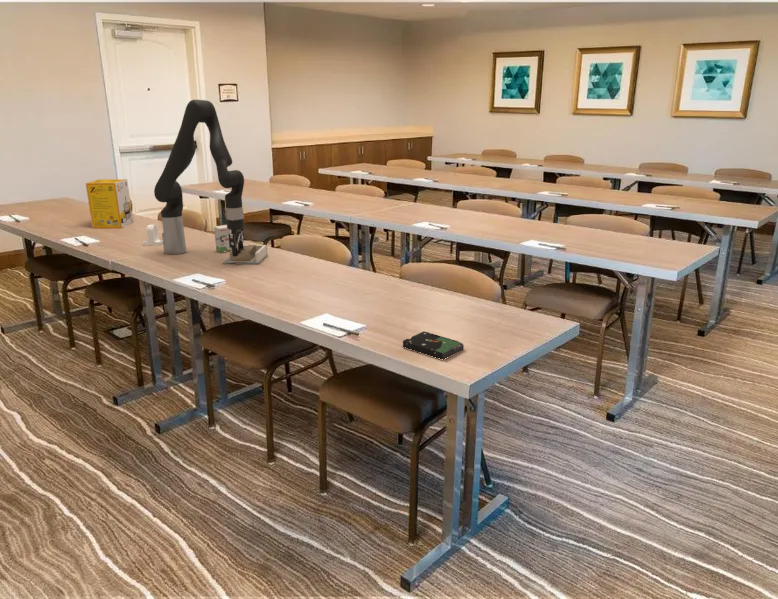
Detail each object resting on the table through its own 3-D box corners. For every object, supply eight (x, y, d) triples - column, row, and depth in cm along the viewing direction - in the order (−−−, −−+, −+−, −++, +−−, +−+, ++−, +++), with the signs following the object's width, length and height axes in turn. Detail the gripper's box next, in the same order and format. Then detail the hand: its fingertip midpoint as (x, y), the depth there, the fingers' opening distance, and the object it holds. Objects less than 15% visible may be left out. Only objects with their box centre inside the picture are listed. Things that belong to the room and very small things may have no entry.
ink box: (220, 253, 291) (218, 228, 287) (216, 251, 295) (213, 226, 291) (237, 250, 296) (235, 225, 292) (232, 248, 300) (230, 224, 296)
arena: (222, 263, 272) (221, 252, 271) (233, 255, 287) (232, 244, 285) (258, 264, 271) (257, 253, 270) (267, 255, 285) (266, 245, 284)
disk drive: (402, 349, 182) (443, 362, 173) (402, 340, 181) (443, 353, 172) (423, 339, 190) (464, 350, 181) (423, 330, 189) (464, 341, 180)
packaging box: (105, 222, 362) (98, 179, 354) (133, 222, 362) (127, 179, 354) (92, 228, 347) (85, 183, 339) (121, 228, 346) (115, 183, 339)
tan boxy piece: (230, 261, 274) (229, 250, 272) (237, 255, 283) (236, 244, 282) (250, 261, 273) (249, 250, 272) (256, 255, 283) (255, 244, 281)
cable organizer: (147, 243, 312) (145, 223, 308) (166, 243, 311) (164, 223, 308) (142, 245, 307) (139, 225, 303) (162, 246, 306) (159, 226, 303)
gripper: (231, 214, 276) (234, 249, 282) (221, 220, 263) (224, 257, 268) (248, 214, 276) (251, 250, 281) (238, 220, 262) (241, 258, 268)
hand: (238, 253), depth 275 cm, fingers open, 8 cm apart
